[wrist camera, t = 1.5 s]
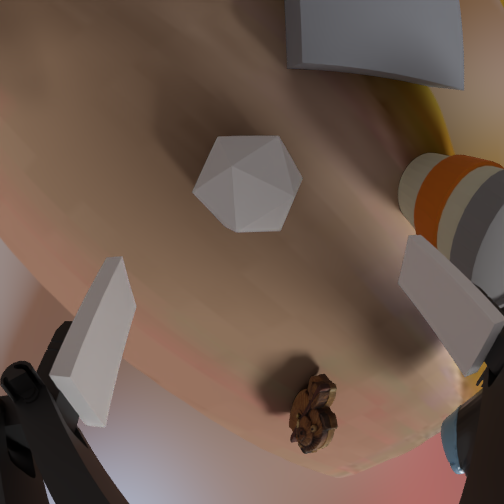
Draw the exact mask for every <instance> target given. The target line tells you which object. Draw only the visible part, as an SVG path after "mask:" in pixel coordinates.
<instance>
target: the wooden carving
mask: <svg viewBox="0 0 504 504" xmlns="http://www.w3.org/2000/svg"><path fill="white" fill-rule="evenodd" d="M336 389H337V387H336V385H335V384H334V383H332V381H330V380H329V379H328V377H327V376H326V375H325V374H320V375H318V376H311V378H310V380H309V385H308V389H304V390H302V391H300V392H299V393H298V395H297V396H296V398H295V400H294V402H293V406H292V408H291V412H290V419H289V427H290V428H291V429H292V431H293V433H292V435H291V438H290V441H291V442H297V441H298V445H299V447H300V448H301V450H302V452H303V453H304V454H307V453H311V452H312V453H315V452H317V450H319V449H323V448H325V447H327V446H328V445H329V443H330V442H331V440H332V438H333V435H334V431H335V429H337V426H338V425H337V419H336V415H335V414H334V413H333V412H332V411H331V409H330V406H331V405H332V403H333V401H334V399H335V396H336Z"/></svg>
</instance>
